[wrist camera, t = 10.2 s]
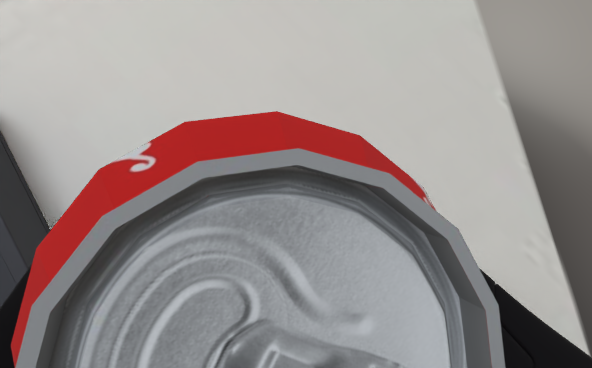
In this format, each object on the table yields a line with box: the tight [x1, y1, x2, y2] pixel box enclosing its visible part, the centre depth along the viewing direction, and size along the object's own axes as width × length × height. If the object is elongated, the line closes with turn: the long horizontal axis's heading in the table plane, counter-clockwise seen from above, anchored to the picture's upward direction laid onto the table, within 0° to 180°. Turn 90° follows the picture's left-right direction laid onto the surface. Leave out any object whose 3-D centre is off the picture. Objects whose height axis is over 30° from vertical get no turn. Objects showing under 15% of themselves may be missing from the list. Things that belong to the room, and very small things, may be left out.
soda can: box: [11, 111, 505, 368], centre depth 10 cm, size 6×6×12 cm
